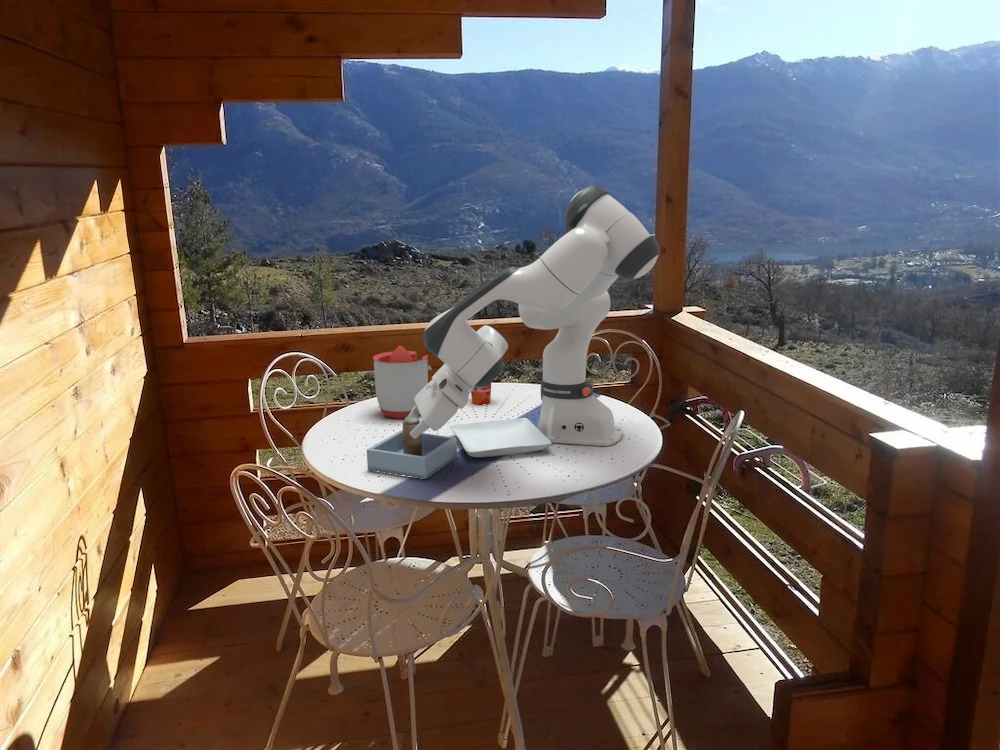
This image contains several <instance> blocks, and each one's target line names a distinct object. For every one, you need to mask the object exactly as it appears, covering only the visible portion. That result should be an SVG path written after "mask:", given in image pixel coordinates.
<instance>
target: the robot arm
mask: <svg viewBox="0 0 1000 750" xmlns="http://www.w3.org/2000/svg"><path fill="white" fill-rule="evenodd" d="M564 222H565V228H564V231H565V234H564V235H563V236H561V237H560V238H559V239H558V240H556V241H555V242H554V243H552V245H551V246H550V247H549V248H548V249H547V250H546V251H544V252H543V254H542V255H540V257H539V258H537V259H536V260H535V261H534V262H532V263H530V264H528V265H526V266H522V267H518V266H516V265H515V266H514V265H512V266H509V267H507V268H505V269H503V270H502V271H500V272H499V273H498V274H496V275H494V276H493V277H492V278H489V279H488V280H487V281H485V282H484V283H483V284H482V285H480V286H479V287H478V288H476V289H475V290H473V291H472V292H471V293H469V294H468V295H466V296H465V297H464V298H463V299H462V300H460V301H459V302H458V303H457V304H456V305H454V306H453V307H451V308H450V309H448V310H445V311H444V312H442V313H440V314H438V315H437V316H435V317H434V318H432V319H431V320H430V321H429V322H428V324H427V325H426V327H425V328H424V331H423V342H424V347H425V349H426V350H427V351H428V352H429V353H431V354H432V355H433V356H435V357H436V358H438V359H439V360H440V361H442V362H443V363H444V364H443V365H442V366H441V367H439V369H437V371H436V372H435V373H434V375H433V376H432V377H431V380H430V381H428V384H427V385H426V386H425V387H423V388H422V389H421V390H420V391H419V392H418V394H417V395H416V396H415V398H414V402H415V404H416V405H415V406H414V407H413V409H412V411H411V412H410V414H409V415H408V417H411V416H414V417H418V418H419V416H420V417H421V420H419V421H420V423H419V424H418V425H417V426H416V427H414V428H413V429H412V430H411V431H410V436H412V437H413V438H414V439H416V438H417V437H418V436H419V435H420V434H421V433H425V432H427V431H428V430H429V429H430V430H432V431H433V432H436V431H438V430H440V429H441V428H443V426H444V425H446V423H448V422H449V421H450V420H451V419H452V418H453V417H454V416H455V415H456V413H457V412H458V411H459V408H460V410H461V409H464V408H465V407H466V406H467V405H468V403H469V396H470V394H471V391H472V390H473V389H474V388H487V387H488V386H489V384H490V383H491V384H492V382H493V380H495V378H496V377H497V376H498V375H500V374H501V373H502V372H503V371H504V360H503V356H504V355H505V353H506V351H507V350H508V348H509V344H508V341H507V340H506V338H505V337H504V335H502V334H501V332H499V331H498V330H497V329H495V328H493V327H492V326H491V325H487V324H486V325H483V326H481V327H480V328H479V329H478V330H475V329H474V328H473V327H472V326H471V325H470V324H469V323H468V321H469V319H470V318H472V317H473V316H474V315H475V314H477V313H478V312H480V311H481V310H483V309H484V308H485V307H487V306H488V305H490V304H491V303H493V302H494V301H497V300H498V301H499V300H503V301H504V300H505V301H510V302H513V303H516V304H518V314H519V317H520V319H521V321H522V323H523V324H524V325H525V326H526V327H527V328H530V329H537V330H554V329H555V330H556V329H558V332H557V334H556V336H555V337H554V339H553V340H552V341H551V342H549V343H548V344H547V345H546V346H545V348H544V349H543V352H542V379H541V380H540V381H541V382H540V400H541V407H540V412H539V413H540V414H539V419H538V422H537V426H536V428H537V429H538V430H539V431H540V432H542V433H543V434H544V435H545V436H546V437H547V438H548V439H549V440H550V441H551V444H567V445H568V444H569V445H581V446H582V445H583V446H588V445H589V446H599V447H601V446H603V447H608V446H612V445H615V444H617V443H619V441H620V440H621V439H622V438H623V436H624V434H623V433H624V430H623V429H622V428H621V427H620V426H616V425H615V419H614V414H613V411H612V410H611V409H610V408H609V407H608V406H607V405H605V404H604V403H603V402H602V401H601V400H599V398H597V397H596V396H595V395H593V394H594V391H593V390H594V386H595V385H594V384H595V382H592V383H590V382H589V381H588V380H587V379H586V375H587V357H588V351H589V347H590V343H591V340H592V338H593V335H594V333H595V331H596V329H597V327H598V326H599V325H600V323H602V321H604V319H606V318H607V316H608V315H609V312H610V310H611V297H610V294H609V292H608V289H609V288H610V287H611V286H612V285H613V284H614V283H615V282H616V280H617V279H618V278H619V277H620V278H622V279H623V280H625V281H633V280H636V279H638V278H641V277H643V276H645V275H646V274H648V273H649V272H650V271H651V270H652V268H654V266H655V264H656V262H657V260H658V258H659V257H660V253H661V252H660V249H661V247H660V245H659V243H658V241H657V240H656V239H657V238H655V237H654V235H651V234H650V232H649V231H648V229H646V227H645V226H644V225H643V224H642V222H640V220H639V219H638V218H637V217H636V216H635V215H634V214H633V213H632V212H630V211H629V210H628V209H627V208H626V207H625V206H624V205H623V204H622V203H620V202H619V200H617V199H615V198H614V197H613V196H611V195H610V191H607V190H606V189H605V188H603V187H601V186H600V185H597V184H595V185H588V186H586V187H585V188H583V189H582V190H580V191H579V192H577V193H576V194H575V195H574V196H573V197H572V198H571V200H570V201H569V203H568V205H567V206H566V209H565V214H564ZM622 435H623V436H622ZM621 437H622V438H621ZM616 442H617V443H616Z"/></svg>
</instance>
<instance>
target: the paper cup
mask: <svg viewBox="0 0 1000 750" xmlns="http://www.w3.org/2000/svg"><path fill="white" fill-rule="evenodd" d="M470 394H471V395H470V396H471V397H470V398H471V403H472V404H473V405H475V404H477V405H476V406H484V405H483V404H486V405H489V404H491V395H492V382H491V383H490V384H489V386H488V387H487V388H474V389H473V390H472V391H471V392H470ZM488 403H489V404H488Z"/></svg>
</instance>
